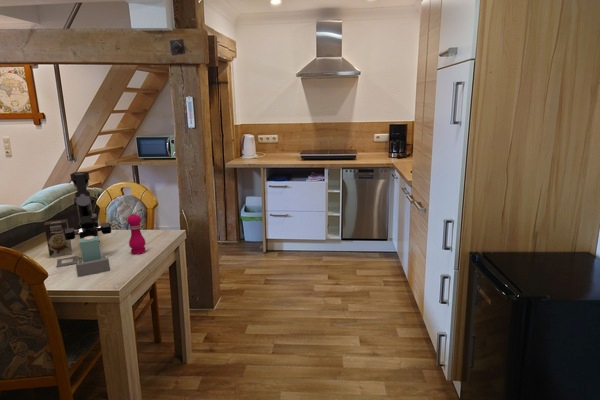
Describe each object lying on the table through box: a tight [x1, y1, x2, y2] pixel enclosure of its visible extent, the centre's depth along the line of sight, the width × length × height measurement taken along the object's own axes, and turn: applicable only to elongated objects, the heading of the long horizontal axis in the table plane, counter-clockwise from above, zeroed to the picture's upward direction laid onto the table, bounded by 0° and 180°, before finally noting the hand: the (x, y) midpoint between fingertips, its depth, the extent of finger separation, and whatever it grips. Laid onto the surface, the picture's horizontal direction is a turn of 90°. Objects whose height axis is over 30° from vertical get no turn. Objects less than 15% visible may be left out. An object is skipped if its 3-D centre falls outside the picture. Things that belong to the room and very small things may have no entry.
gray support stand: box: [75, 256, 111, 278], centre depth 166 cm, size 11×12×5 cm
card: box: [56, 255, 79, 268], centre depth 176 cm, size 10×8×1 cm
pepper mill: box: [126, 211, 146, 256], centre depth 183 cm, size 7×7×20 cm
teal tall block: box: [79, 235, 102, 263], centre depth 169 cm, size 6×7×13 cm
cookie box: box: [43, 218, 73, 259], centre depth 184 cm, size 9×6×16 cm
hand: (90, 247), depth 174 cm, fingers closed
